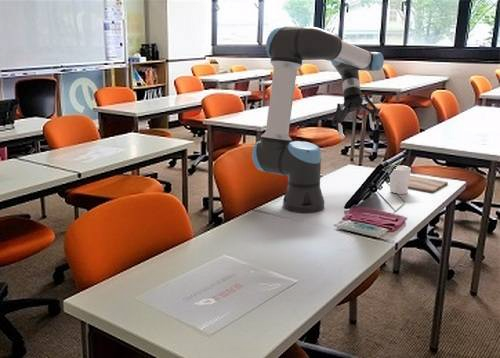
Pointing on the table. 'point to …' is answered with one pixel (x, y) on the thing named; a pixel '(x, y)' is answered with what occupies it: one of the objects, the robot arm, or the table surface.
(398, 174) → the white cup
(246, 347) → the table surface
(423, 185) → the walnut board
